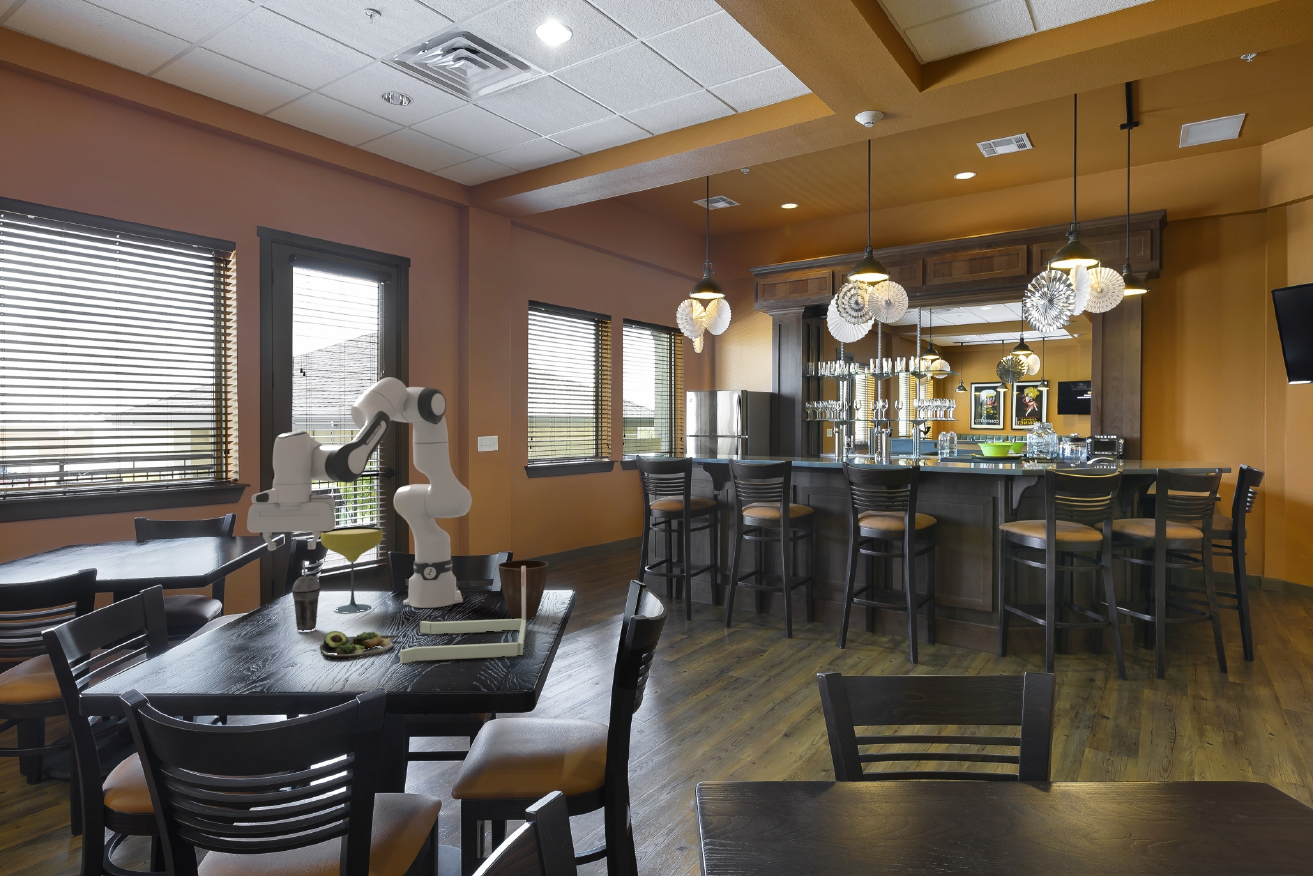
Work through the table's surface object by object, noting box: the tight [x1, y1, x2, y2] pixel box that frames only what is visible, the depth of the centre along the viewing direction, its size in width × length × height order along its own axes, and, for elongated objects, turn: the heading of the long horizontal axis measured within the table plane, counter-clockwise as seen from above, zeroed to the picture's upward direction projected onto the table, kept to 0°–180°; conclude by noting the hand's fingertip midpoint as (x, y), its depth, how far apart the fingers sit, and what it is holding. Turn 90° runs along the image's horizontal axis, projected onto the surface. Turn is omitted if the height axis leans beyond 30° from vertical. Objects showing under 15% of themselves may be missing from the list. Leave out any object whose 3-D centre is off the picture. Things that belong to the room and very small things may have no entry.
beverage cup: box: [291, 560, 321, 631], centre depth 199 cm, size 7×7×20 cm
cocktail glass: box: [320, 526, 384, 613], centre depth 223 cm, size 18×18×25 cm
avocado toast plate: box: [319, 630, 400, 660], centre depth 183 cm, size 19×18×5 cm
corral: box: [399, 566, 527, 664], centre depth 186 cm, size 28×29×18 cm
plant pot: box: [497, 559, 549, 620], centre depth 213 cm, size 15×15×16 cm
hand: (291, 549), depth 179 cm, fingers open, 8 cm apart
